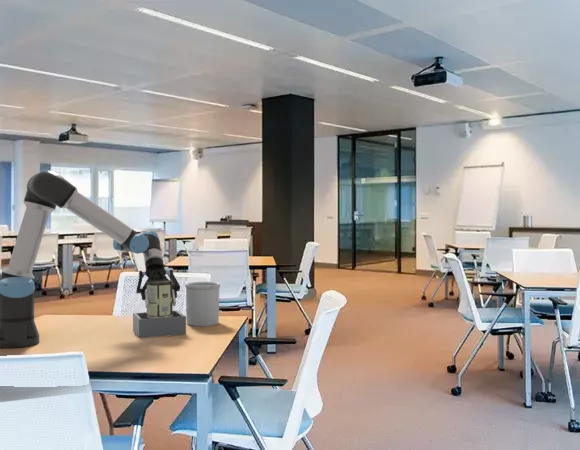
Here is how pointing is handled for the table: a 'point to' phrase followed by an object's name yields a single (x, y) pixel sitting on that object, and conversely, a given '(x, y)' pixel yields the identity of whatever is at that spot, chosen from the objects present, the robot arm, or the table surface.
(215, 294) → the utensil holder
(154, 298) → the coffee can
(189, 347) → the table surface
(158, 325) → the bin
